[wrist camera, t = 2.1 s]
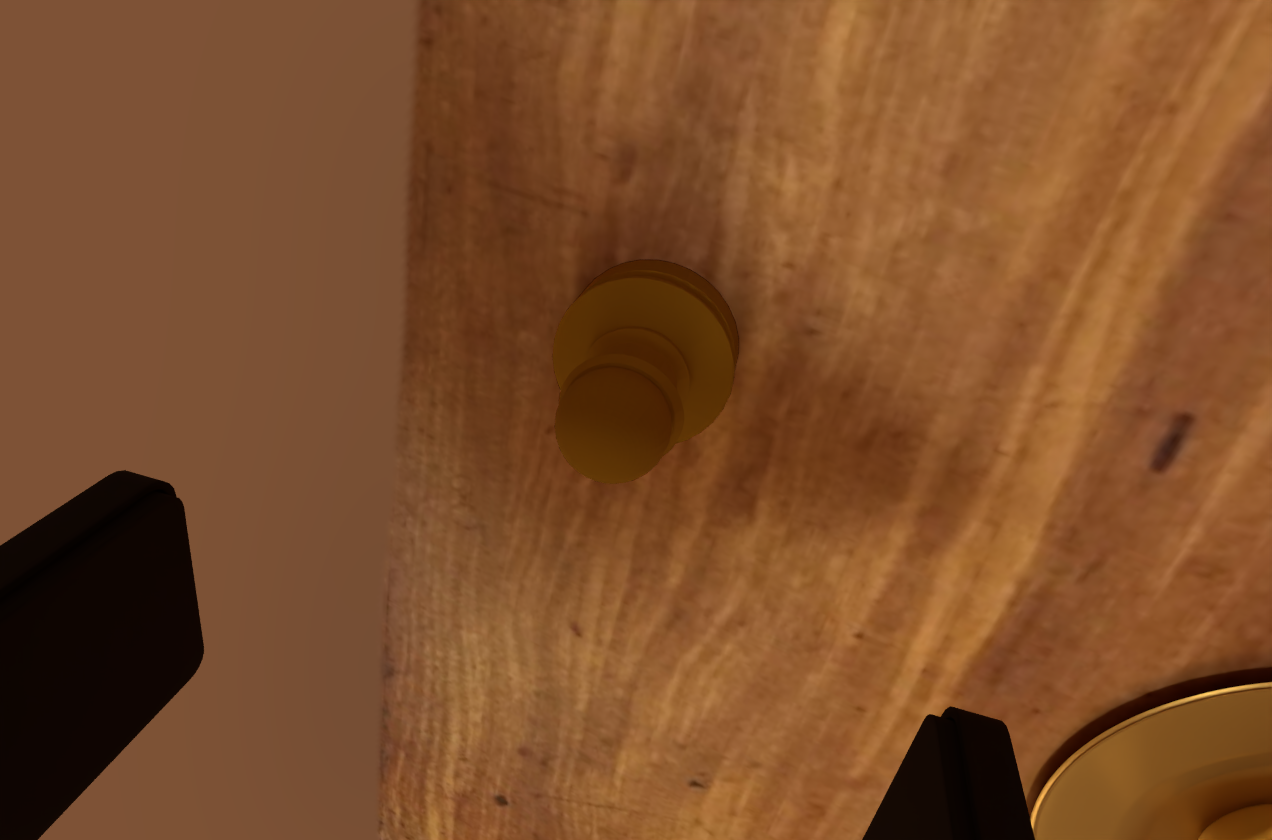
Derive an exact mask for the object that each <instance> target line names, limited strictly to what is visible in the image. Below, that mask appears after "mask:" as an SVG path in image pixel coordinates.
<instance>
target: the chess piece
mask: <svg viewBox="0 0 1272 840" xmlns="http://www.w3.org/2000/svg"><path fill="white" fill-rule="evenodd" d="M737 358H738V333H737V328H736V324H735V320H734V318H733V316H732V313H731V311H730V309H729V306H728V305H727V304H726V302H725V301H724V299H723V298H722V296H721V295H720V294H719V292H718V291H717V290H716V289H715V288H714V287H713V286H712V285H711V284H710V283H709V282H708V281H706V280H705V279H704V278H702V277H701V276H699V275H698V274H696V273H694V272H693V271H691V270H689V269H687V268H684V267H682V266H679V265H677V264H674V263H669V262H664V261H659V260H637V261H632V262H627V263H623V264H620V265H618V266H615V267H613V268H611V269H608V270H607V271H605V272H604V273H602V274H601V275H600V276H598V277H597V278H595V279H594V280H593V281H592V282H591V283H590V285H589V286H588V287H587V288H586V289H585V290H584V291H583V292H582V294H581V295H580V296H579V297H578V298H577V300H576V301H575V302H574V303H573V304H572V305H571V306H570V307H569V308H568V309H567V311H566V313H565V315H564V316H563V318H562V320H561V321H560V323H559V326H558V329H557V332H556V335H555V338H554V346H553V364H554V372H555V376H556V379H557V382H558V385H559V388H560V390H561V392H560V396H559V406H558V409H557V412H556V418H555V433H556V439H557V442H558V445H559V448H560V450H561V452H562V454H563V456H564V458H565V459H566V460H567V462H568V463H569V464H570V465H571V466H572V467H573V468H574V469H575V470H576V471H577V472H579V473H580V474H582V475H583V476H585V477H587V478H589V479H592V480H594V481H597V482H601V483H609V484H617V483H626V482H629V481H632V480H635V479H637V478H639V477H641V476H643V475H645V474H646V473H648V472H649V471H650V470H651V469H652V468H654V467H655V466H656V465H657V463H658V462H659V461H660V459H661V458H662V457H663V456H664V455H665V454H667V453H668V452H669V451H670V450H671V449H672V448H673V446H674V445H675V444H676V443H679V442H683V441H686V440H688V439H690V438H692V437H693V436H695V435H697V434H699V433H701V432H702V431H703V430H704V429H706V428H707V427H708V426H709V425H710V424H712V423H713V422H714V420H715V419H716V418H717V416H718V415H719V414H720V413H721V411H722V410H723V408H724V406H725V404H726V402H727V400H728V398H729V396H730V394H731V389H732V385H733V381H734V371H735V366H736V362H737Z"/></svg>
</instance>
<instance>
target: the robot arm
mask: <svg viewBox="0 0 1272 840" xmlns="http://www.w3.org/2000/svg"><path fill="white" fill-rule="evenodd" d="M203 645H204V644H203V637H202V631H201V624H200V617H199V609H198V602H197V595H196V588H195V581H194V574H193V567H192V560H191V553H190V546H189V539H188V533H187V525H186V518H185V511H184V506H183V503H182V501H181V500H180V499H179V498H177V497H176V494H175V491H174V488H173V487H172V486H171V485H170V484H169V483H167V482H164V481H161V480H157V479H153V478H150V477H146V476H143V475H140V474H136V473H132V472H129V471H126V470H124V471H117V472H114V473H112V474H110V475H108V476H107V477H105V478H104V479H102V480H100V481H99V482H97V483H96V484H95V485H93V486H91V487H90V488H88V489H87V490H85V491H84V492H82V493H80V494H79V495H77V496H76V497H74V498H73V499H71V500H70V501H68V502H67V503H65V504H64V505H62V506H61V507H59V508H57V509H56V510H55V511H53V512H51V513H50V514H48V515H47V516H45V517H44V518H42V519H41V520H39V521H37V522H36V523H34V524H33V525H31V526H30V527H28V528H27V529H25V530H24V531H22V532H21V533H19V534H17V535H16V536H15V537H13V538H11V539H10V540H8V541H7V542H5V543H4V544H2V545H1V546H0V840H38V839H39V838H40V837H41V835H43V833H44V832H45V831H46V830H47V829H48V828H49V827H50V826H51V825H52V824H53V823H54V822H55V821H56V820H57V819H58V818H59V817H60V816H61V815H62V814H63V812H64V811H65V810H66V809H67V808H68V807H69V806H70V805H71V804H72V803H73V802H74V801H75V800H76V799H77V798H78V797H79V796H80V795H81V794H82V792H83V791H84V790H85V789H86V788H87V787H88V786H89V785H90V784H91V783H92V782H93V781H94V779H96V778H97V777H98V776H99V775H100V773H101V772H102V771H103V770H104V769H105V768H106V767H107V766H108V765H109V764H110V763H111V762H112V761H113V760H114V759H115V758H116V757H117V756H118V755H119V754H120V753H121V751H122V750H123V749H124V748H125V747H126V746H127V745H128V744H129V743H130V742H131V741H132V740H133V739H134V738H135V737H136V736H137V735H138V734H139V732H140V731H141V730H142V729H143V728H144V727H145V726H146V725H147V724H148V723H149V722H150V721H151V720H152V719H153V718H154V717H155V715H157V714H158V713H159V711H160V710H161V709H162V708H163V707H164V706H165V705H166V704H167V703H168V702H169V701H170V700H171V699H172V698H173V697H174V695H176V694H177V693H178V692H179V690H180V689H181V688H182V687H183V686H184V685H185V684H186V683H187V682H188V681H189V680H190V679H191V677H192V676H193V675H194V674H195V673H196V671H197V669H198V668H199V666H200V663H201V661H202V658H203V654H204V646H203ZM862 840H1035V837H1034V833H1033V829H1032V825H1031V821H1030V817H1029V812H1028V808H1027V804H1026V800H1025V796H1024V792H1023V788H1022V784H1021V780H1020V776H1019V771H1018V767H1017V763H1016V759H1015V755H1014V751H1013V747H1012V743H1011V739H1010V735H1009V732H1008V729H1007V726H1006V725H1005V724H1004V723H1003V721H1000V720H997V719H993V718H990V717H986V716H983V715H979V714H976V713H972V712H969V711H965V710H962V709H958V708H955V707H949V708H947V709H946V710H945V711H944V713H943V714H942V716H941V717H939V716H935V715H931V714H929V715H928V716H926V718H925V719H924V721H923V723H922V725H921V727H920V729H919V731H918V732H917V734H916V736H915V738H914V740H913V742H912V744H911V746H910V748H909V750H908V752H907V754H906V756H905V758H904V760H903V762H902V764H901V766H900V767H899V769H898V771H897V773H896V775H895V777H894V779H893V781H892V783H891V785H890V787H889V789H888V791H887V793H886V795H885V797H884V799H883V801H882V802H881V804H880V806H879V808H878V810H877V812H876V814H875V816H874V818H873V820H872V822H871V824H870V826H869V828H868V830H867V832H866V834H865V836H864V837H863V839H862Z"/></svg>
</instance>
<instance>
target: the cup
mask: <svg viewBox="0 0 1272 840" xmlns="http://www.w3.org/2000/svg"><path fill="white" fill-rule="evenodd" d="M1030 821H1031V825H1032V829H1033V833H1034V837H1035V840H1272V682H1266V683H1257V684H1250V685H1243V686H1236V687H1230V688H1225V689H1220V690H1215V691H1210V692H1206V693H1202V694H1198V695H1194V696H1190V697H1187V698H1183V699H1180V700H1176V701H1173V702H1170V703H1167V704H1164V705H1161V706H1159V707H1156V708H1153V709H1151V710H1148V711H1146V712H1143V713H1141V714H1139V715H1136V716H1134V717H1132V718H1130V719H1128V720H1126V721H1123V722H1121V723H1120V724H1118V725H1116V726H1114V727H1112V728H1110V729H1108V730H1107V731H1105V732H1103V733H1102V734H1100V735H1099V736H1097V737H1095V738H1094V739H1092V740H1091V741H1090V742H1088V743H1087V744H1085V745H1084V746H1083V747H1081V748H1080V749H1079V750H1078V751H1076V752H1075V753H1074V754H1073V755H1072V756H1070V757H1069V758H1068V759H1067V760H1066V761H1065V762H1064V763H1063V764H1062V765H1061V766H1060V767H1059V768H1058V769H1057V770H1056V772H1055V773H1054V774H1053V775H1052V776H1051V778H1050V779H1049V780H1048V782H1047V783H1046V785H1045V786H1044V788H1043V789H1042V791H1041V793H1040V794H1039V796H1038V798H1037V800H1036V803H1035V805H1034V808H1033V810H1032V813H1031V817H1030Z"/></svg>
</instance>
